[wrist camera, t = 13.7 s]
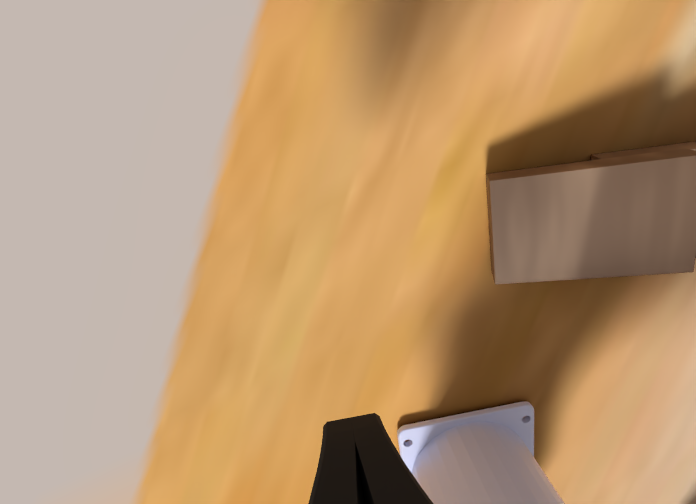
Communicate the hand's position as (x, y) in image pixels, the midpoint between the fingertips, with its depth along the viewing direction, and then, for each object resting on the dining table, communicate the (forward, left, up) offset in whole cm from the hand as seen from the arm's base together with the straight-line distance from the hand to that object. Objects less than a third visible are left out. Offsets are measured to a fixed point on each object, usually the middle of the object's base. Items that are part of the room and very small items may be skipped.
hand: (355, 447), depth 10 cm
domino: (+2, -8, -10) cm, 13 cm away
